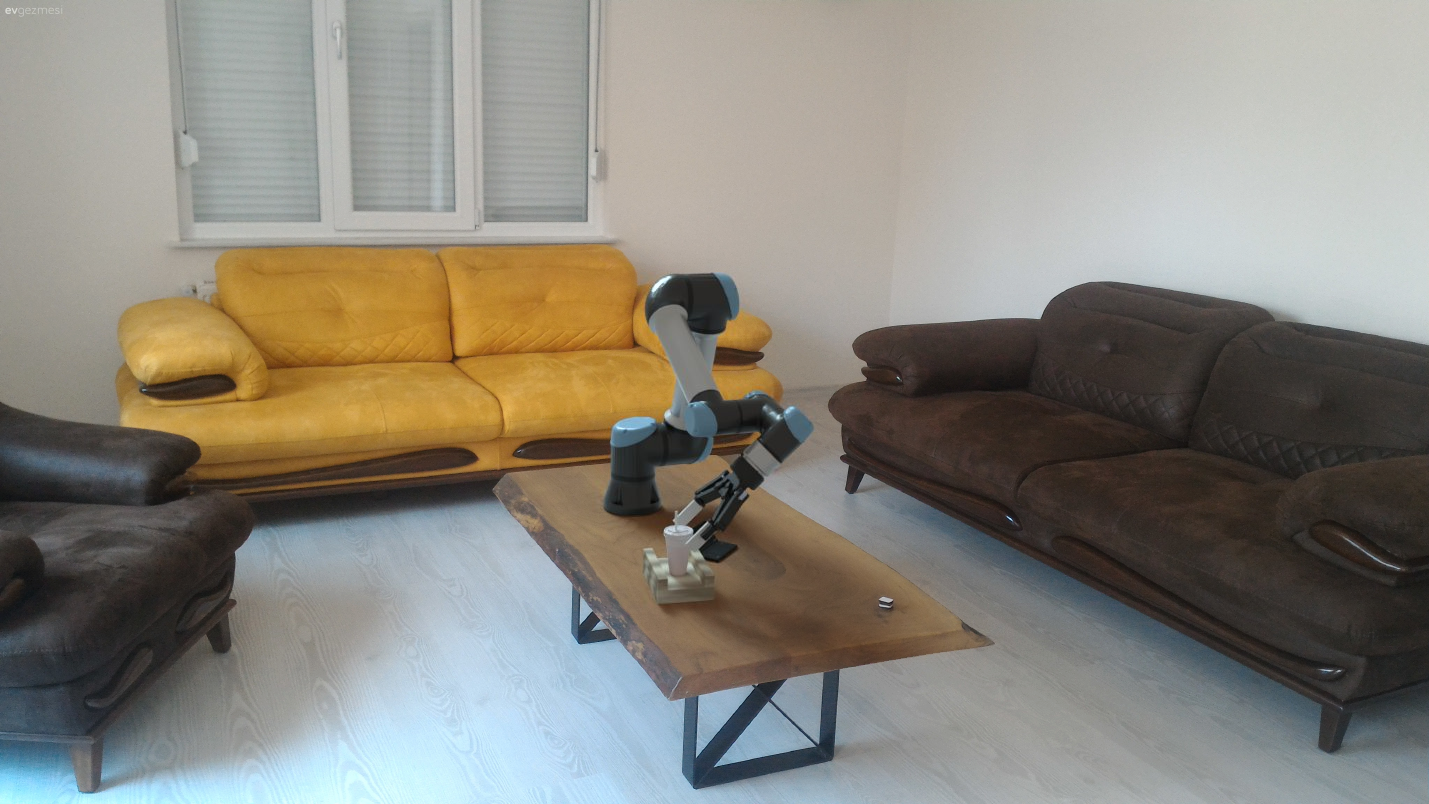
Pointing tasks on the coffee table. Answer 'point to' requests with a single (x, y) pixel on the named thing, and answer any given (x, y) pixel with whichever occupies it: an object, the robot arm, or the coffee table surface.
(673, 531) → the smoothie
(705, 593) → the tray
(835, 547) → the coffee table surface
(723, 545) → the handheld gaming console
